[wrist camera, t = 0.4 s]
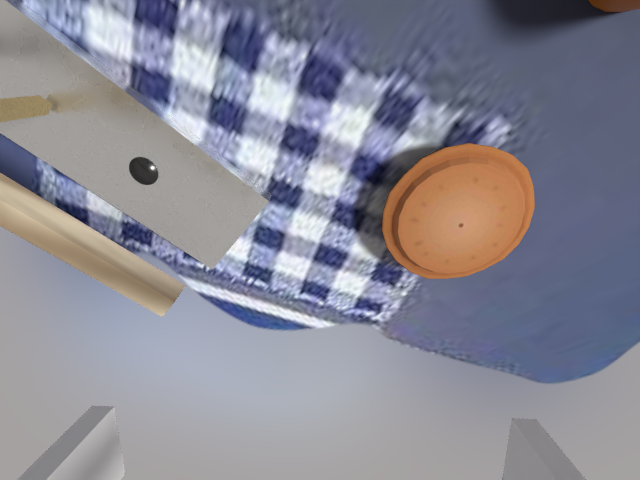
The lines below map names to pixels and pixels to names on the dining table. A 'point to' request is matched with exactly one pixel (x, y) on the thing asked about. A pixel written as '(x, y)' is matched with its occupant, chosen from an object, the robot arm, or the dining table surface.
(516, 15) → the dining table surface
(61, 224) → the bar
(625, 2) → the mug
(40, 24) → the hole plate
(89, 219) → the dining table surface
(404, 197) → the pie
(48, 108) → the block
